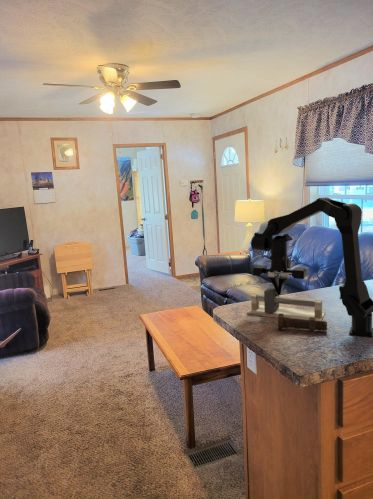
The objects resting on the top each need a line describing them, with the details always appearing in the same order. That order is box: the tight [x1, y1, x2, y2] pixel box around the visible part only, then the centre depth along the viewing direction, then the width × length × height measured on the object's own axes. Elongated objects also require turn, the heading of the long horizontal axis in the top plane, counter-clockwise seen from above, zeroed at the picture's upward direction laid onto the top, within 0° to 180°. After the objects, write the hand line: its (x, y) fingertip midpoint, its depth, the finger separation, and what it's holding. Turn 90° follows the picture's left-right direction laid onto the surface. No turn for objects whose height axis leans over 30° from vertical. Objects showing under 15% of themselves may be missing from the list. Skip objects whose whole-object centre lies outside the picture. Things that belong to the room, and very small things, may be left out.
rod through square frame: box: [246, 293, 327, 321], centre depth 137 cm, size 10×26×6 cm, turn 60°
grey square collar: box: [263, 285, 280, 313], centre depth 139 cm, size 8×3×8 cm, turn 150°
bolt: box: [277, 313, 328, 333], centre depth 121 cm, size 6×5×15 cm
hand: (279, 294), depth 137 cm, fingers closed
